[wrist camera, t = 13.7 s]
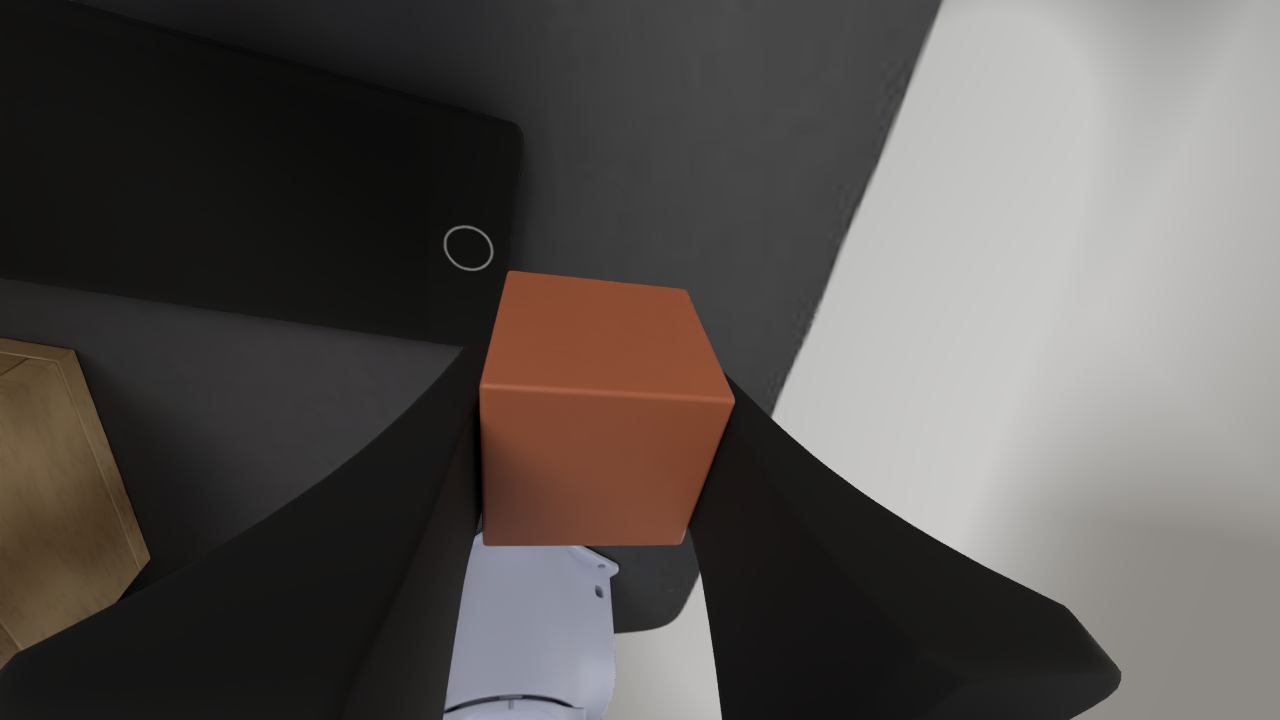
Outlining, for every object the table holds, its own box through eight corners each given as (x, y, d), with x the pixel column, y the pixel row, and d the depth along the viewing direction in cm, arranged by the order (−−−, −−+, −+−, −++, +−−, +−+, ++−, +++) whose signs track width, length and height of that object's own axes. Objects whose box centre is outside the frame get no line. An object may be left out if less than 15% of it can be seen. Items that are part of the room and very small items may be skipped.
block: (653, 417, 13) (682, 546, 10) (504, 409, 12) (481, 549, 9) (686, 287, 11) (738, 401, 7) (507, 268, 10) (478, 385, 7)
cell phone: (499, 340, 20) (496, 353, 20) (-48, 255, 16) (-80, 267, 15) (527, 124, 16) (525, 129, 15) (-246, -88, 11) (-307, -97, 10)
